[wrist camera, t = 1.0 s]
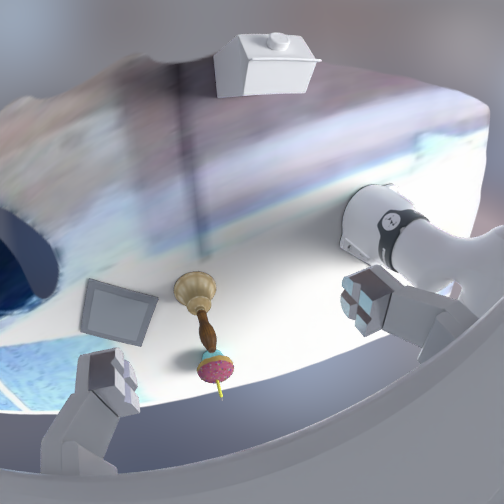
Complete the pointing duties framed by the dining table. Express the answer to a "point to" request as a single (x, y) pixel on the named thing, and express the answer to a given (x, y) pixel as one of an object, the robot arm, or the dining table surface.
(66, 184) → the dining table surface
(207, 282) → the hand bell
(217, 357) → the cupcake
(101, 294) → the plate
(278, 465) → the robot arm
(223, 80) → the milk carton
